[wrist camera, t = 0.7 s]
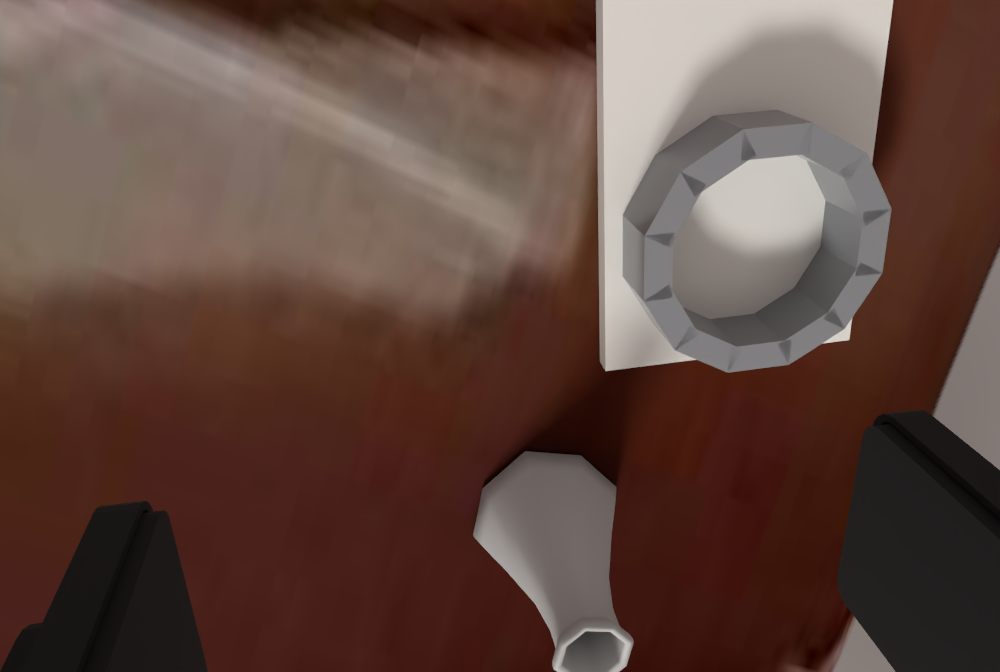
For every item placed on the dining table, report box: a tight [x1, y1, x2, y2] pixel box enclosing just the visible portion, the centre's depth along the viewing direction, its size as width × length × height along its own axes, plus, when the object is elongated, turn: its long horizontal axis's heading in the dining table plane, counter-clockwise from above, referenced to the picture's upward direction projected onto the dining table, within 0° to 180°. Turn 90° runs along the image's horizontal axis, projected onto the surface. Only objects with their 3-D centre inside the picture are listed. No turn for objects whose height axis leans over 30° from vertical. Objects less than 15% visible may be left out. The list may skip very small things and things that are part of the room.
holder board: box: [596, 0, 893, 373], centre depth 35 cm, size 16×12×4 cm
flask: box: [473, 451, 634, 672], centre depth 38 cm, size 7×7×10 cm
